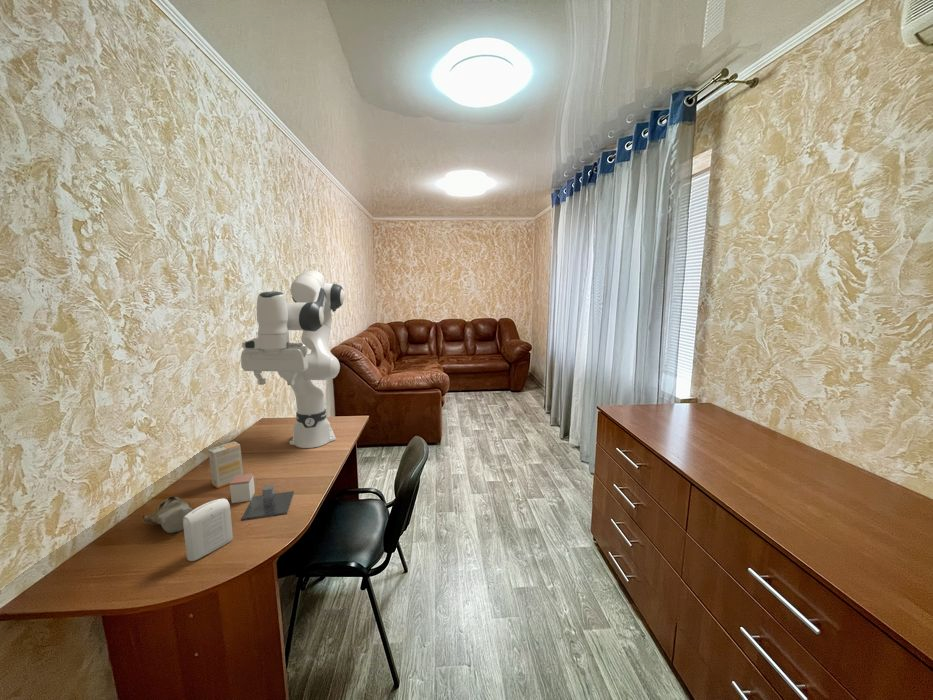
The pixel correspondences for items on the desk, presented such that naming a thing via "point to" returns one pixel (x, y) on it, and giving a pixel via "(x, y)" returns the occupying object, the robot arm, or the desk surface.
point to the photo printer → (207, 528)
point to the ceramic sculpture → (169, 514)
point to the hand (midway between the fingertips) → (276, 384)
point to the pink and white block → (242, 488)
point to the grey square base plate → (268, 504)
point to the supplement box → (225, 463)
